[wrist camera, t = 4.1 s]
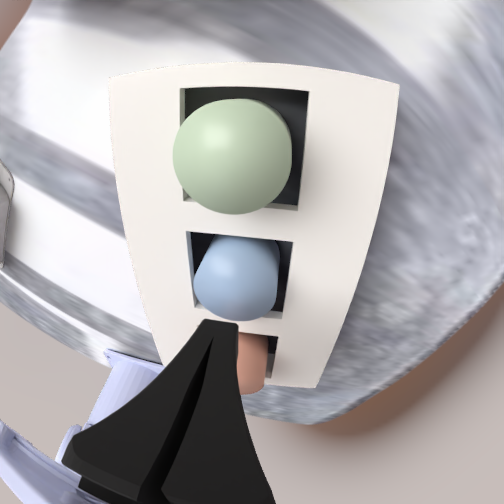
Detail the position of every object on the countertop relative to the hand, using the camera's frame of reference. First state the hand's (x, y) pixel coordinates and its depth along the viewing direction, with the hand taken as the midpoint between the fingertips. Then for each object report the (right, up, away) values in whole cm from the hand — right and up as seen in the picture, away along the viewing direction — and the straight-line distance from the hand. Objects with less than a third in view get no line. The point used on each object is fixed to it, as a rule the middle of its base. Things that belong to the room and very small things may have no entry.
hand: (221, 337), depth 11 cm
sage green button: (+1, +8, +1) cm, 8 cm away
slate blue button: (+1, +3, +5) cm, 6 cm away
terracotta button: (0, -3, +8) cm, 8 cm away
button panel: (+1, +3, +5) cm, 6 cm away
